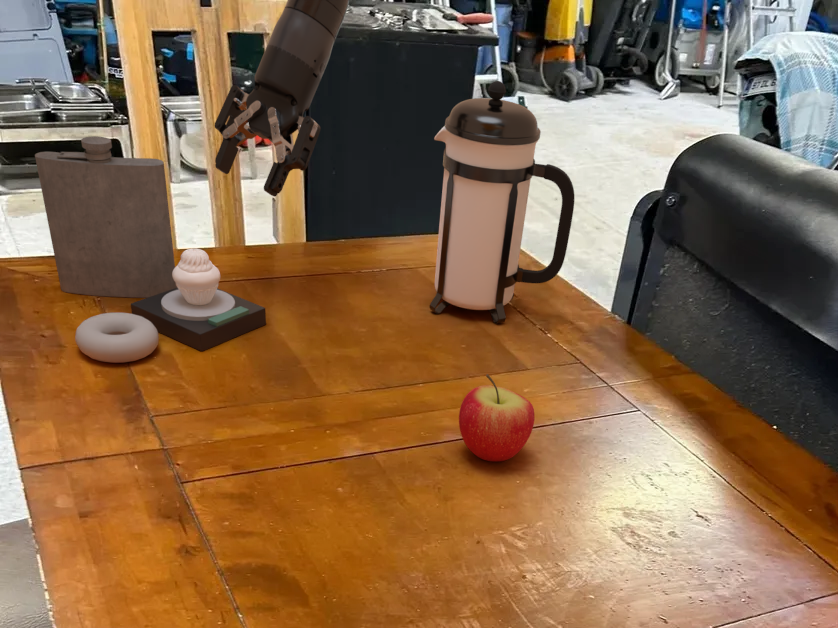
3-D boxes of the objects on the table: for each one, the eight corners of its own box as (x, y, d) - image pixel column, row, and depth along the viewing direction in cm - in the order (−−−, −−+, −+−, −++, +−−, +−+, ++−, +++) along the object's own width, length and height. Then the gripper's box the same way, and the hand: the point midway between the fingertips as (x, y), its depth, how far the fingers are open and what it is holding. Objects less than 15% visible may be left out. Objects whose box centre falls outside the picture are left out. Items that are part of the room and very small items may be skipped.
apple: (451, 434, 105) (460, 355, 98) (521, 436, 106) (535, 359, 99) (458, 472, 99) (468, 391, 92) (532, 475, 100) (547, 394, 93)
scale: (132, 320, 119) (129, 299, 117) (199, 296, 127) (197, 275, 125) (201, 351, 114) (199, 329, 113) (266, 324, 122) (265, 303, 120)
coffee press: (458, 335, 126) (484, 98, 106) (405, 292, 136) (420, 68, 116) (557, 319, 133) (598, 96, 114) (500, 279, 143) (529, 67, 123)
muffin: (227, 307, 118) (223, 255, 114) (181, 312, 116) (175, 258, 111) (215, 289, 122) (211, 238, 118) (170, 293, 120) (164, 241, 115)
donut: (153, 330, 118) (73, 335, 114) (150, 305, 116) (68, 309, 112) (166, 364, 111) (82, 371, 108) (164, 338, 109) (77, 344, 105)
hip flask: (179, 288, 129) (162, 138, 115) (175, 300, 126) (158, 147, 112) (63, 283, 126) (33, 129, 113) (57, 295, 123) (26, 138, 110)
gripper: (236, 27, 113) (187, 152, 116) (323, 61, 108) (270, 189, 112) (269, 59, 120) (222, 175, 123) (352, 92, 115) (301, 212, 119)
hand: (245, 182), depth 117 cm, fingers open, 8 cm apart
